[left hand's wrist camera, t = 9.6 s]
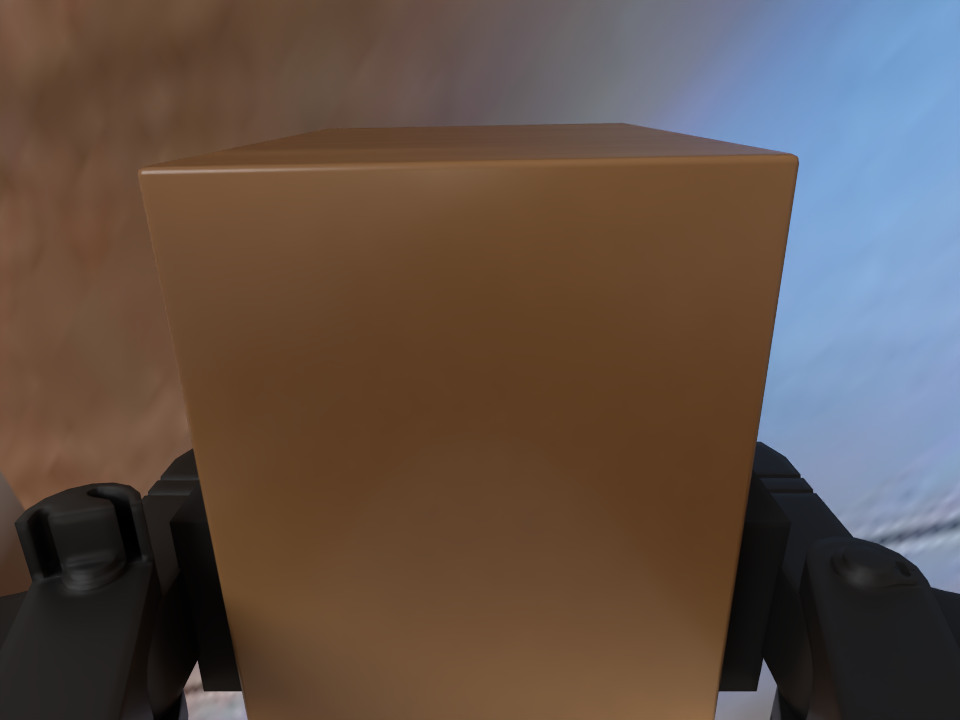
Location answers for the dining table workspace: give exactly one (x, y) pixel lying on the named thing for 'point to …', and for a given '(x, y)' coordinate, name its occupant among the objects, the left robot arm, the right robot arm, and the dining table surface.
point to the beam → (475, 410)
